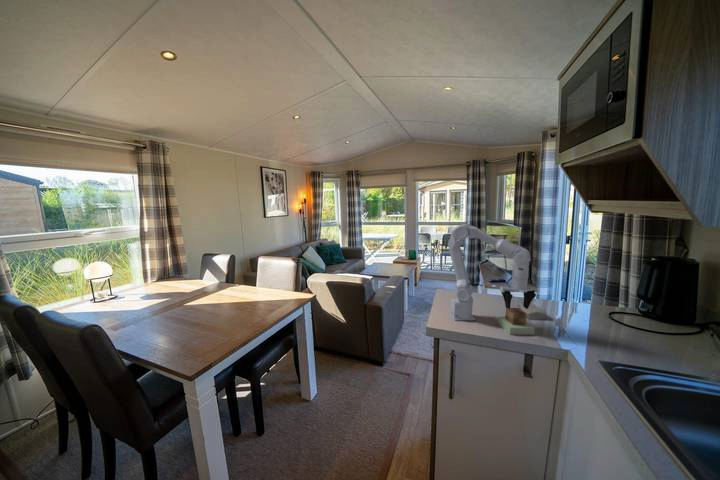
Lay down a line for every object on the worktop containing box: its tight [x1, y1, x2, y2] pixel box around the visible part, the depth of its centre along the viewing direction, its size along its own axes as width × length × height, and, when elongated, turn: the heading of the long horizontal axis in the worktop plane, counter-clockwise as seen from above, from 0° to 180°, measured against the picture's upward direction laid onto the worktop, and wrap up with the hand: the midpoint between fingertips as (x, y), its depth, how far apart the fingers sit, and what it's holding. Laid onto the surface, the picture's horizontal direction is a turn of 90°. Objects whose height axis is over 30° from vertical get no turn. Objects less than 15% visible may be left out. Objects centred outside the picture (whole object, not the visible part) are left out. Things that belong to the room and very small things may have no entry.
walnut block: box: [504, 307, 527, 325], centre depth 112 cm, size 6×6×5 cm
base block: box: [497, 316, 536, 336], centre depth 112 cm, size 10×10×3 cm
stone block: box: [515, 303, 548, 321], centre depth 126 cm, size 12×5×10 cm
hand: (516, 307), depth 111 cm, fingers open, 7 cm apart
